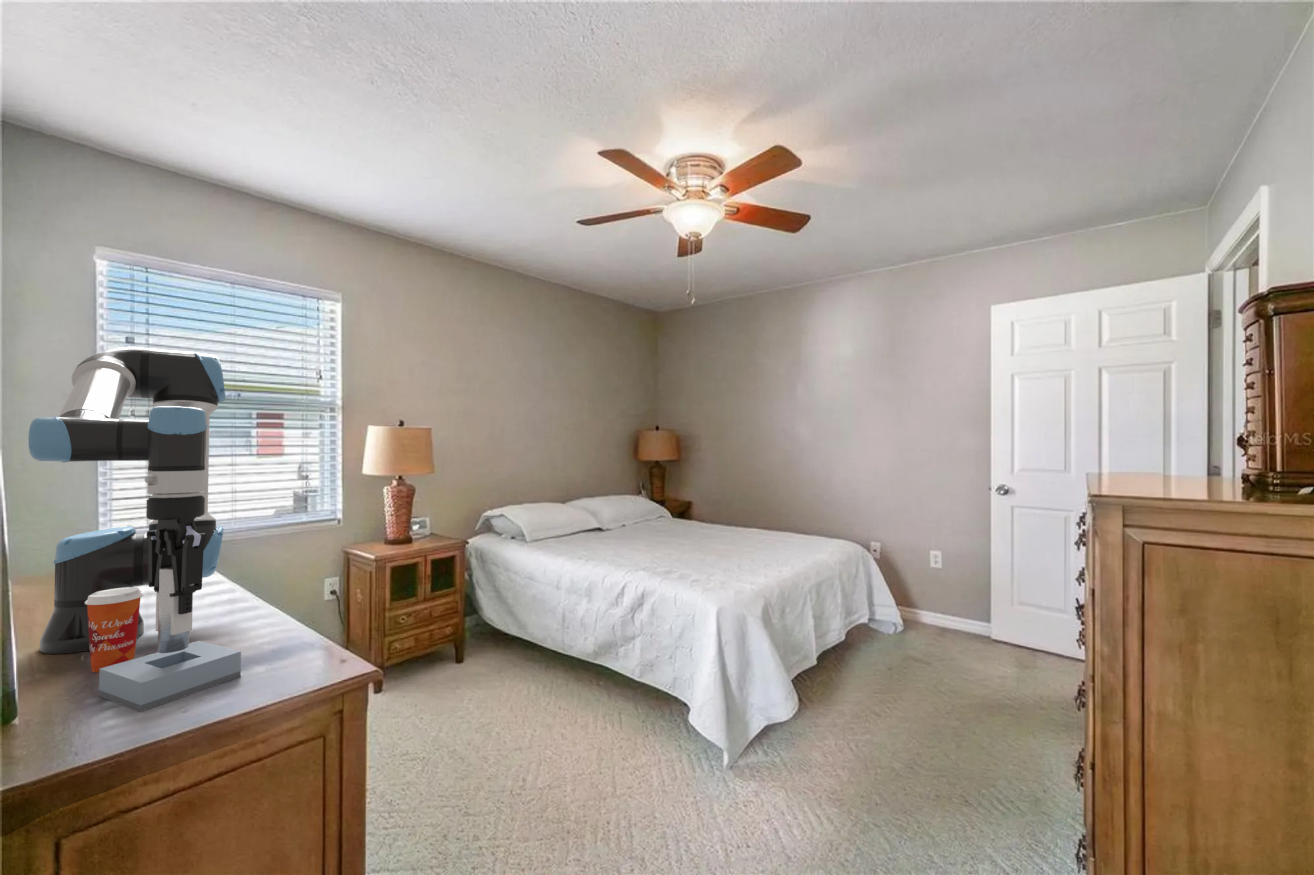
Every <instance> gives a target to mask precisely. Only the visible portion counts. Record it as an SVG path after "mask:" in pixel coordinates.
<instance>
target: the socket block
mask: <svg viewBox="0 0 1314 875" xmlns="http://www.w3.org/2000/svg"><path fill="white" fill-rule="evenodd" d="M241 663H242V651H240V650H237V649H235V648H234V649H233V648H230V647H226V646H222V645H219V644H218V645H217V644H214V643H210V642H206V641H203V640H197V641H193V642H189V647H188V648H186V649H183V650H180V651H176V652H171V653H158V651H157V652H154V653H151V654H147V655H146V654H145V655H143V656H139V657H137V658H134V659H132V660H129V661H125V662H122V663H118V664H114V665H111V666H107V667H104V668H100V672H99V675H98V676H99V678H98V681H99V683H98V696H99V697H101V698H104V699H106V700H109V701H111V702H113V703H116V704H119V705H122V706H123V707H127V708H130V709H132V710H135V711H136V712H137V711H138V712H140V713H141V712H143V711H147V710H149V709H152V708H155V707H158V706H161V705H164V704H166V703H170V702H173V701H176V700H178V699H180V698H184V697H187V696H189V695H191V694H195V693H198V692H200V691H203V690H207V689H209V688H212V687H214V686H217V685H220V684H224V683H226V682H229V681H232V680H234V679H237V678H240V677H241V672H242V671H241V670H242V668H241V667H242V664H241Z"/></svg>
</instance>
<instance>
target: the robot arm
mask: <svg viewBox="0 0 1314 875" xmlns="http://www.w3.org/2000/svg"><path fill="white" fill-rule="evenodd" d="M222 369H223V367H222V364H221V360H220V359H219V358H218V357H217V356H215V355H213V354H208V353H201V352H196V351H184V350H183V351H181V350H170V349H169V350H168V349H160V348H159V349H158V348H147V347H141V346H139V347H138V346H137V347H136V346H125V347H118V348H112V349H108V350H104V351H101V352H99V353H95V354H93V355H91V356H89V357H86V358H85V359H84V360H82V361H81V362H80V363H79V364H77V366H76V367H75V369H74V371H73V373H72V375H71V383H72V386H73V387H72V390H71V392H70V394H69V395H68V397H67V400H66V401H65V403H64V405H63V407H62V408H61V411H60V412H59V415H58V416H55V415H54V416H49V417H46V416H44V417H43V416H42V417H41V416H40V417H35V418H34V419H33V420H31V423H30V424H29V430H28V439H27V440H28V449H29V454H30V456H31V458H32V459H34V460H36V461H39V462H60V463H61V462H62V463H68V462H76V463H77V462H119V461H120V462H121V461H122V462H123V461H124V462H128V461H129V462H131V461H133V462H134V461H135V462H138V461H139V462H141V461H143V462H144V461H145V462H148V466H147V477H145V478H144V482H145V484H146V483H147V494H148V495H152V497H148V499H147V500H146V519H148V520H150V522H149V524H148V530H147V531H144V532H137V529H136V527H134V526H122V527H119V526H118V527H110V528H106V529H105V528H104V529H99V530H92V531H88V532H82V533H77V534H75V535H70V536H67V537H64V538H63V539H61V540H60V541H59V542H58V543H57V545H56V548H55V556H54V557H55V558H54V561H53V564H54V595H53V596H54V597H53V598H54V599H53V600H54V601H53V612H52V613H51V616H50V618H49V619H48V622H47V625H46V626H45V628H44V631H43V632H42V635H41V637H40V640H39V652H41V653H43V654H49V655H50V654H54V655H55V654H56V655H57V654H70V653H73V654H74V653H79V652H81V653H82V652H86V651H90V644H89V629H88V610H87V604H85V602H86V601H87V599H88V596H89V595H91V594H93V593H95V592H99V591H103V590H109V589H115V588H126V587H141V586H148V587H149V588H153V590H154V592H155V594H156V597H155V632H158V614H159V569H161V568H164V567H170V566H172V567H173V578H174V589H175V593H171V594H169V595H170V597H171V633H170V634H171V635H175V634H179V633H183V632H187V631H189V632H190V631H193V611H194V610H193V603H194V602H193V600H194V593H196V592H198V591H200V590H202V589H203V588H202V587H203V579H204V578H208V577H211V576H213V575H214V574H215V573H216V572H217V569H218V568H217V567H218V563H219V558H220V556H221V555H220V554H221V548H222V542H223V535H224V527H223V526H220V525H218V526H217V519H216V517H213V516H212V515H211V514H210V513H209V471H210V470H209V467H210V466H209V462H210V461H209V459H210V457H209V456H210V417H211V414H212V413H214V412H215V411H216V410H218V407H219V405H218V404H219V403H222V402H225V401H226V391H225V380H224V375H223V370H222ZM127 398H138V399H139V398H141V399H152V406H153V407H152V408H151V409H150V410H149V416H148V419H123V418H121V419H120V416H121V413H122V411H123V407H124V404H125V400H126V399H127ZM144 622H145V621H144V619H143V617H142V615H141V613H140V611H139V618H138V628H137V638H138V637H140V636H141V635H143V633H144V630H145V623H144Z"/></svg>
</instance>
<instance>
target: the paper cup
mask: <svg viewBox="0 0 1314 875" xmlns="http://www.w3.org/2000/svg"><path fill="white" fill-rule="evenodd" d="M144 595H145V594H143V593H142V590H140V588H139V587H137V586H134V587H126V588H115V589H109V590H103V591H99V592H95V593H93V594H91V595H89V596H88V599H87V601H86V602H85V604H87V610H88V629H89V644H90V650H89V654H90V656H89V658H90V670H91V672H92V673H99V672H100V668H104V667H107V666H111V665H114V664H118V663H122V662H125V661H129V660H132V659H135V654H136V646H137V638H138V637H137V628H138V618H139V612H140V607H141V606H140V605H141V598H142V597H144Z"/></svg>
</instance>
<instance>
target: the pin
mask: <svg viewBox="0 0 1314 875" xmlns="http://www.w3.org/2000/svg"><path fill="white" fill-rule="evenodd" d="M171 593H175V589H174V578H173V567H172V566H170V567H164V568H161V569H159V614H158V631H157V652H158V653H171V652H176V651H180V650H183V649H186V648H188V647H189V643H190V631H187V632H183V633H179V634H175V635H171V634H170V633H171V597H170V595H169V594H171Z"/></svg>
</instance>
